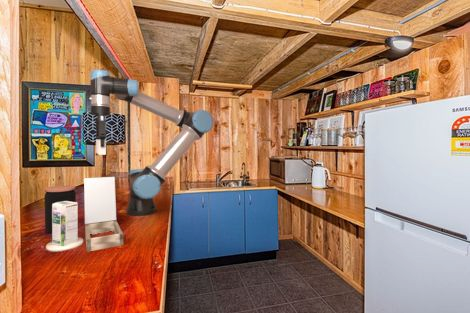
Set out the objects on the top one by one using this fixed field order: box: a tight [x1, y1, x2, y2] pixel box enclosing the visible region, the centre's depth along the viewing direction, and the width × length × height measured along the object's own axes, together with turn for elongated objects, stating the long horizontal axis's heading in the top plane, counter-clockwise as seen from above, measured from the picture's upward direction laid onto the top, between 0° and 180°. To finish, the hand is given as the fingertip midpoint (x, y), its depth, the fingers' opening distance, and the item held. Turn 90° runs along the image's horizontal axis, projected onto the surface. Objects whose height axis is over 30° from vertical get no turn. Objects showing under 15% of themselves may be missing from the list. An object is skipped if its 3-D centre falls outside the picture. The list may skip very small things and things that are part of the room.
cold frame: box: [84, 220, 124, 252], centre depth 96 cm, size 11×18×4 cm, turn 32°
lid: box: [83, 176, 117, 225], centre depth 105 cm, size 11×18×1 cm
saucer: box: [45, 236, 84, 252], centre depth 90 cm, size 11×11×1 cm
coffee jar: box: [43, 185, 77, 235], centre depth 105 cm, size 11×11×18 cm
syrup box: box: [51, 201, 79, 246], centre depth 90 cm, size 6×6×14 cm
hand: (100, 154), depth 112 cm, fingers open, 13 cm apart
